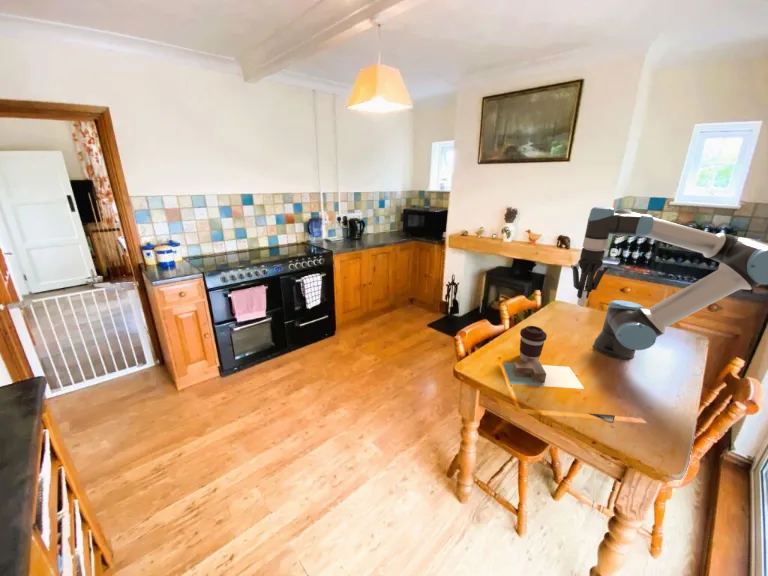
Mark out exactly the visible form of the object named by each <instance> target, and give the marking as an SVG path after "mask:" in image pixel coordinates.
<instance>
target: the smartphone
mask: <svg viewBox="0 0 768 576" xmlns="http://www.w3.org/2000/svg"><path fill="white" fill-rule="evenodd" d="M588 415H589V416H593V417H595V418H597V419H600V420H603V421H605V422H608V423H611V424H612V423H614V422H615V418H616V415H615V414H614V415H611V414H600V413H588Z"/></svg>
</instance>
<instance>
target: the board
mask: <svg viewBox="0 0 768 576" xmlns="http://www.w3.org/2000/svg"><path fill="white" fill-rule="evenodd" d="M513 363H514V362H513ZM513 363H511V362H502V367H503V370H504V373H505V375H506V378H507V380H508V383H509V386H510V387H512V385H521V386H522V385H523V386H538V387H548V388H549V387H551V388H553V387H554V388H565V389H575V390H576V389H577V390H578V389H579V390H585V388H584V386H583V385H582V383H581V382H580V380H579V379H578V377H577V376H576V374H575V373H574V372H573V370H572V369H571V368H570V366H562V365H561V366H559V365H545V364H541V365H542V367H543V369H544V371H545V372H546V378H545V383H539V382H533V380H532V378H531V377H518V376H515V375H514V373H513Z"/></svg>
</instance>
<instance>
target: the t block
mask: <svg viewBox="0 0 768 576" xmlns="http://www.w3.org/2000/svg"><path fill="white" fill-rule="evenodd" d="M542 365H543V364H541V362H540V360H538V359H529V358H527V362H525V361H513V373H514V375H515V376H518V377H531V378H532V380H533V382H539V383H545V378H546V372H545V371H544V369H543V367H542Z"/></svg>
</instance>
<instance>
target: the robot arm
mask: <svg viewBox="0 0 768 576" xmlns="http://www.w3.org/2000/svg"><path fill="white" fill-rule="evenodd" d="M610 235H618V236H619V235H621V236H635V237H645V238H648V239H652V240H655V241H659V242H662V243H666V244H669V245H672V246H676V247H678V248H682V249H687V250H690V251H693V252H696V253H700V254H702V256H703V257H704V258H707V259H711V260H713V261H715V262H718V263H719V265H718V269H716V270H715V271H713V272H711V273H710V274H708V275H706V276H704V277H702V278H701V279H699V280H697V281H695V282H693V283H691V284H690V285H688V286H686V287H684V288H682V289H681V290H678V291H677V292H675V293H673V294H671V295H670V296H668V297H666V298H664V299H663V300H661V301H659V302H658V303H655V304H654V305H652V306H650V307H647V308H644V306H643V305H641V304H639V303H637V302H634V301H628V300H620V299H619V300H618V299H615V300H611V301H609V304H608V306H607V310H606V315H605V318H604V322H603V326H602V330H601V331H600V333H599V334H598V336H597V337H596V338H595V339H594V341H593V342H594V343H593V347H594V348H595V350H597V351H598V352H600V354H601V353H602V354H603V355H606V356H608V357H612V358H615V359H620V360H621V359H622V360H625V359H626V360H627V359H628V360H629V359H631V358H632V359H633V357H635V354H636V351H643V350H647V349H650V348H651V347H653V346H654V345H655V343H656V341H657V338H659V337H660V336H662V335H664V334H665V331H666V328H667V327H669V326H672V325H673V324H675V323H678V322H679V321H681V320H683V319H685V318H686V317H688V316H690V315H692V314H695V313H697V312H699V311H700V310H703V309H704V308H706V307H708V306H711V305H712V304H714V303H716V302H718V301H720V300H721V299H724V298H726V297H728V296H729V295H732V294H733V293H736V292H737V291H740V290H749V291H751V290H752V289H755V288H756V287H759V286H760V285H768V242H765V241H763V240H760V239H756V238H750V237H743V236H738V235H731V234H727V233H723V232H718V233H712V232H709V231H705V230H701V229H697V228H694V227H691V226H687V225H682V224H678V223H675V222H672V221H668V220H665V219H660V218H658V217H657V218H656V217H653V215H652V214H645V213H639V212H635V211H633V210H632V211H631V210H629V209H625V208H618V209H615V208H614V207H608V206H594V207H592V208H591V209H590V213H589V215H588V219H587V224H586V230H585V233H584V237H583V238H584V239H583V243H582V249H581V252H580V257H579V260H578V261H577V263H576V264H571V265H570V268H571V270H572V276H573V277H572V278H573V279H572V280H573V288H574V289H576V290H577V294H576V297H577V298H578V299H577V303H576V304H577V305H578V306H579V307H585V303H586V299H589V297H590V293H591V292H592V291H595V290H597V288H598V286H599V284H600V282H601V280H602V278H603V276H604V274H605V273H606V272H607V271H608V269H609V267H607V266H606V265H604V263H603V260H604V256H605V252H606V251H605V250H606V249H607V244H608V242H609V241H608V240H609V236H610ZM579 270H580V273H579ZM579 274H580V275H579Z"/></svg>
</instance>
